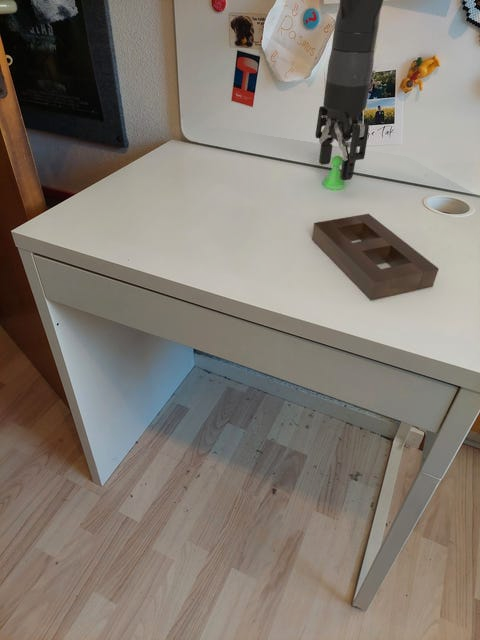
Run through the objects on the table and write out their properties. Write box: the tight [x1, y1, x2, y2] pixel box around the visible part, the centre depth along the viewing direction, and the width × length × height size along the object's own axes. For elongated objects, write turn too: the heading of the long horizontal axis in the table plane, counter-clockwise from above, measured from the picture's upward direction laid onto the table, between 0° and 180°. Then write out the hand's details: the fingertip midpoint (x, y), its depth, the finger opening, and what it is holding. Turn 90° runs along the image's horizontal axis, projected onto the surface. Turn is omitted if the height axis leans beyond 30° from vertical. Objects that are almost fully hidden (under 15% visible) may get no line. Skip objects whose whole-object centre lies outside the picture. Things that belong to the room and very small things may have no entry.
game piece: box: [322, 155, 346, 191], centre depth 88 cm, size 4×4×6 cm
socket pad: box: [311, 213, 439, 302], centre depth 67 cm, size 10×18×3 cm, turn 20°
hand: (334, 171), depth 88 cm, fingers open, 8 cm apart
